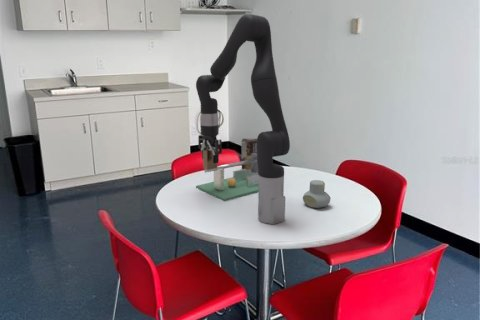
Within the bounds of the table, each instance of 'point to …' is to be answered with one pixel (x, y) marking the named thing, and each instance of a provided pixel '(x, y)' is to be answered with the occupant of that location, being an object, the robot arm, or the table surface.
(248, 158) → the coffee box
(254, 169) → the rod support
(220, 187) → the rod
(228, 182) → the ball
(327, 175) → the table surface
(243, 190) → the pitch
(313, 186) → the air freshener
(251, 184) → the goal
